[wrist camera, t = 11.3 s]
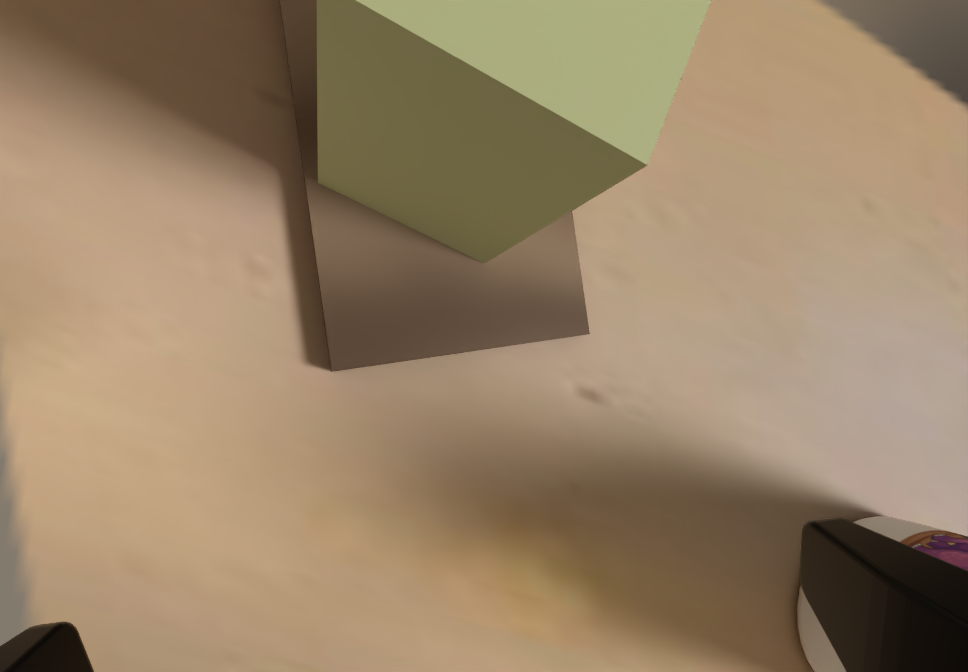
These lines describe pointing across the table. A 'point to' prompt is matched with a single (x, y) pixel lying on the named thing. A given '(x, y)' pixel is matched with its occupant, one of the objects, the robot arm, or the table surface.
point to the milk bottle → (916, 535)
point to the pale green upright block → (493, 107)
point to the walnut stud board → (419, 262)
